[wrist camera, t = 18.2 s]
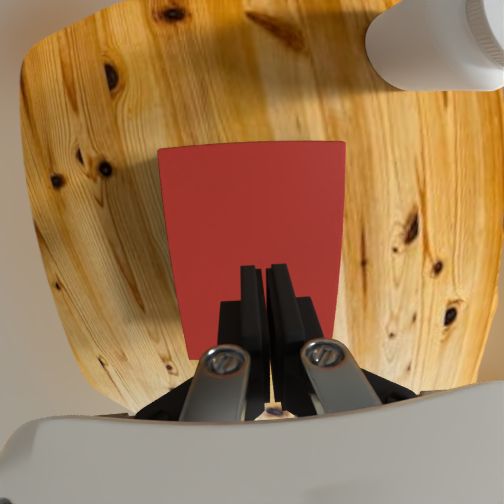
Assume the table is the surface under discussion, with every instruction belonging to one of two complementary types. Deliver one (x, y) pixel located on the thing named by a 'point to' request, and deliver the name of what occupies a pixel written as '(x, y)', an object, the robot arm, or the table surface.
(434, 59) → the pill bottle
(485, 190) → the table surface
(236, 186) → the lunchbox lid
